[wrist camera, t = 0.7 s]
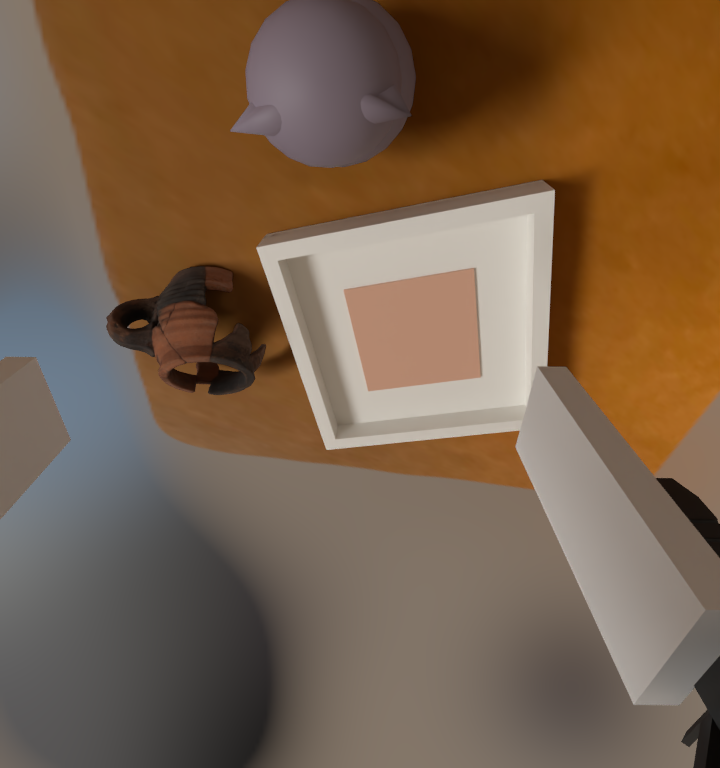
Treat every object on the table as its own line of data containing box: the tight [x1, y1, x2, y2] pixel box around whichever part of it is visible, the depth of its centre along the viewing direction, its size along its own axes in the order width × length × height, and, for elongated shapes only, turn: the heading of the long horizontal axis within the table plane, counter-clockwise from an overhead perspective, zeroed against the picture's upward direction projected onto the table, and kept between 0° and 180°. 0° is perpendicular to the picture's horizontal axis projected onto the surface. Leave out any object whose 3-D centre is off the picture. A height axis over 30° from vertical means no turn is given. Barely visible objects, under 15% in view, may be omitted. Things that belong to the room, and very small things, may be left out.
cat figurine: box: [230, 0, 416, 168], centre depth 23 cm, size 8×8×12 cm
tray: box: [256, 180, 555, 450], centre depth 36 cm, size 20×20×3 cm
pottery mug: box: [106, 266, 266, 395], centre depth 36 cm, size 12×9×8 cm
